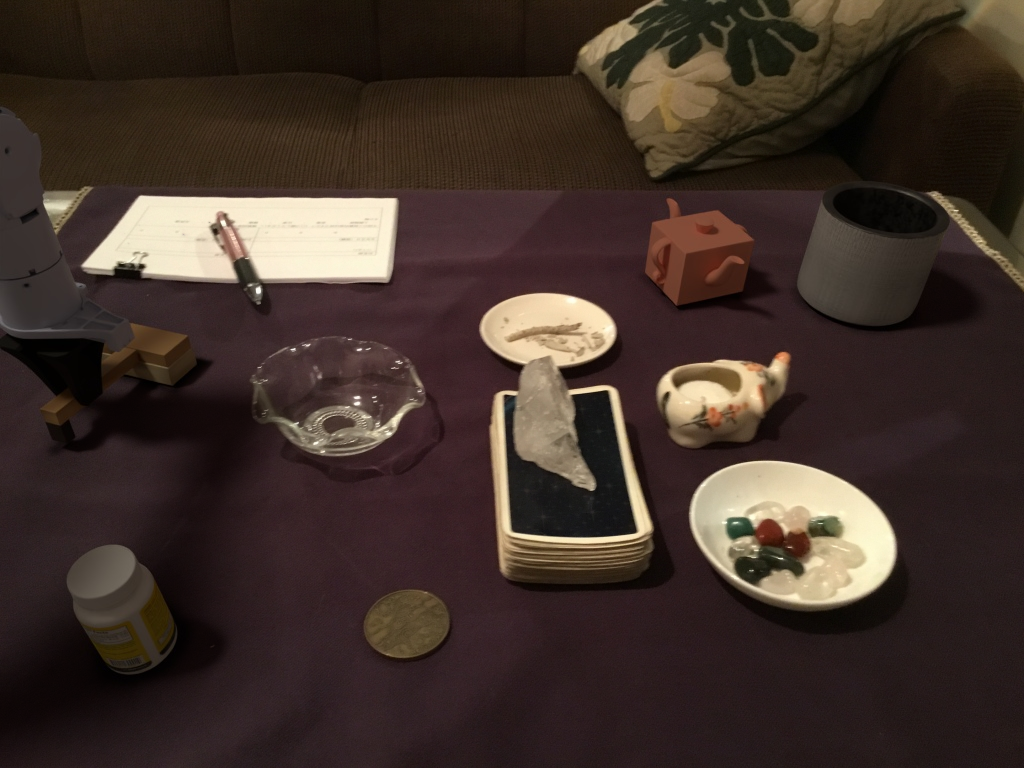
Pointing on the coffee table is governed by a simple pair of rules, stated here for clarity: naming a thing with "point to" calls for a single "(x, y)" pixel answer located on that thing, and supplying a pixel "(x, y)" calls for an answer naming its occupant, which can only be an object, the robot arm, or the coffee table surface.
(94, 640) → the supplement bottle
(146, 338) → the brown t-shaped piece
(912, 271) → the planter
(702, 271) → the teapot
